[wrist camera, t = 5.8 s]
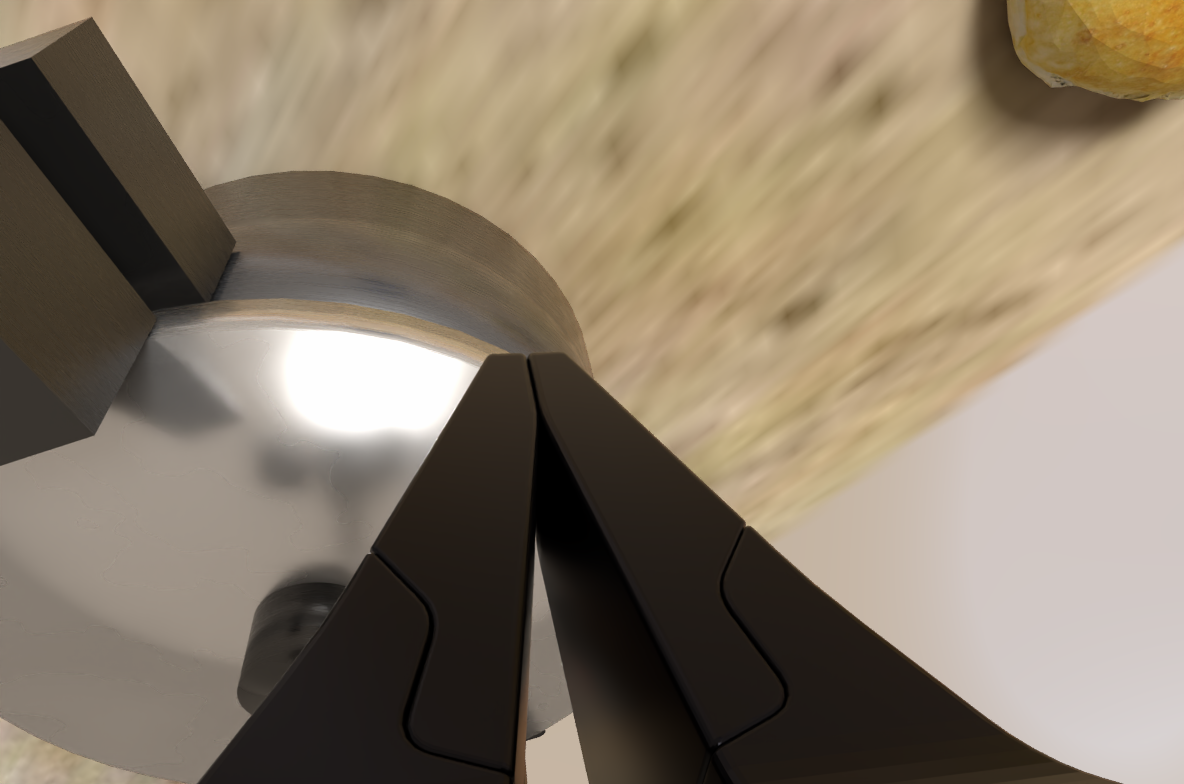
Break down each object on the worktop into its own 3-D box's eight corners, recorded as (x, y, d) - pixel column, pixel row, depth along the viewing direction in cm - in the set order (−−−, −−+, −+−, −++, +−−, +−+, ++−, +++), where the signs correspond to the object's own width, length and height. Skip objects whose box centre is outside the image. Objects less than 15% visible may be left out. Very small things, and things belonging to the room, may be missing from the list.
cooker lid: (702, 662, 23) (737, 779, 20) (208, 807, 24) (178, 938, 21) (415, -174, 10) (404, -157, 7) (-665, 217, 11) (-1040, 364, 8)
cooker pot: (636, 491, 28) (680, 650, 23) (255, 606, 29) (214, 786, 24) (427, -122, 16) (418, -74, 11) (-225, 106, 17) (-527, 251, 12)
